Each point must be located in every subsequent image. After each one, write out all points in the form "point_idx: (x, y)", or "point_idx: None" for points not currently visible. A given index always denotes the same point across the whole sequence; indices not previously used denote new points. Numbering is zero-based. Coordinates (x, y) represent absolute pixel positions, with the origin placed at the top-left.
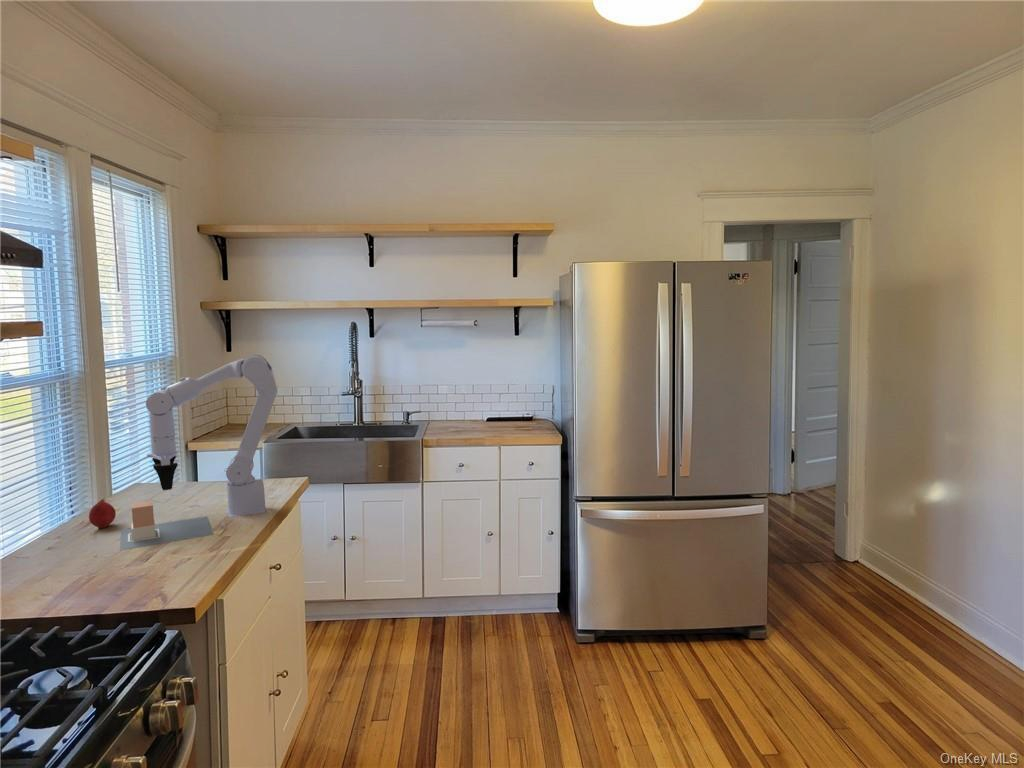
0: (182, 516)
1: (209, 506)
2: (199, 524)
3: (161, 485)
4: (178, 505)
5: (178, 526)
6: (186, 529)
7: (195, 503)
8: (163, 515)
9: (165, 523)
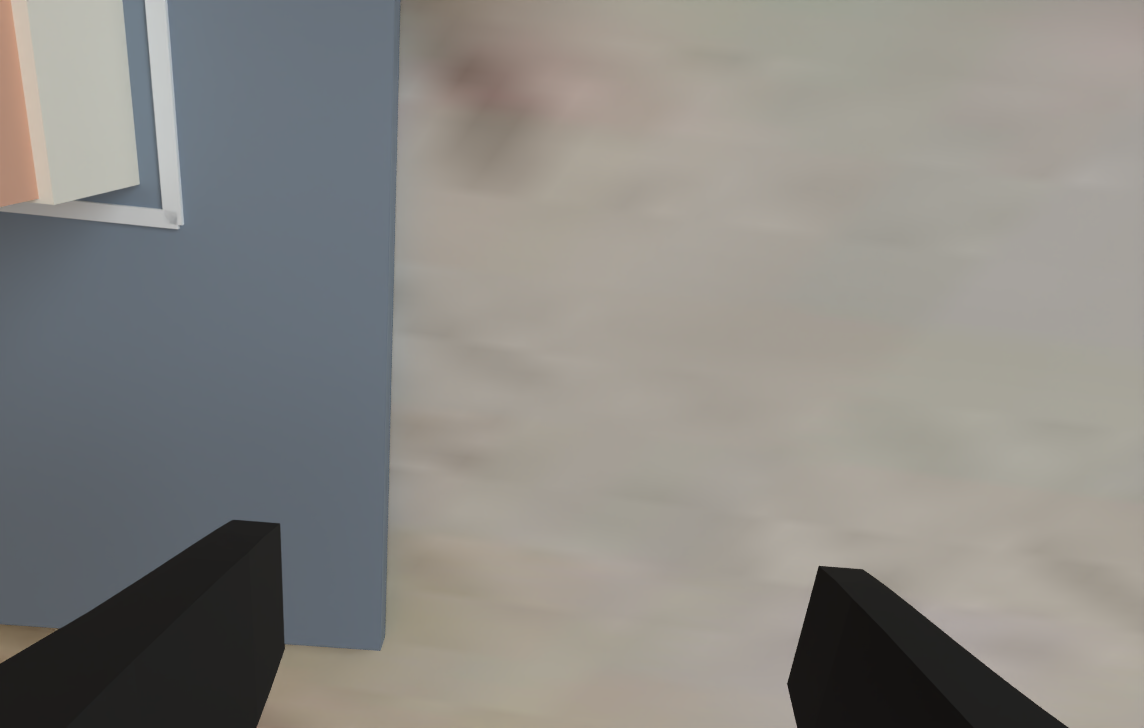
0: (592, 480)
1: (750, 701)
2: (149, 564)
3: (159, 569)
4: (1003, 503)
5: (181, 404)
6: (43, 451)
7: (942, 629)
8: (757, 337)
9: (359, 313)
